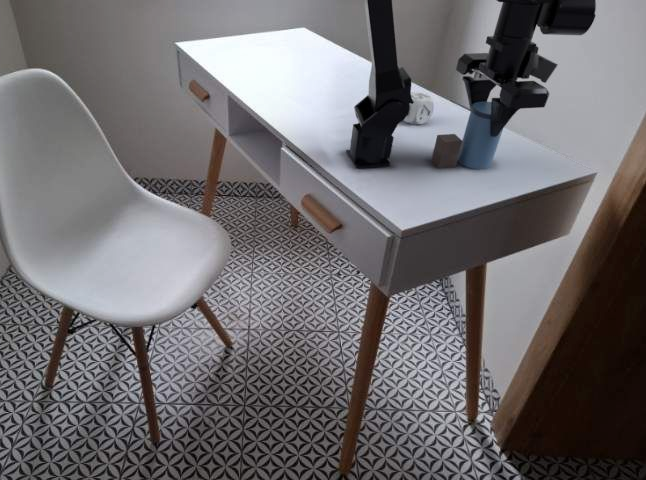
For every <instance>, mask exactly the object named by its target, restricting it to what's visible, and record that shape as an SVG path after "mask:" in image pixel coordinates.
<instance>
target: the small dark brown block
mask: <svg viewBox="0 0 646 480" xmlns="http://www.w3.org/2000/svg"><path fill="white" fill-rule="evenodd" d="M435 139H436V140H435V143H434V148H433V151H432V156H431V163H432V164H434V166H435V167H436V168H437V169H448V168H456V166H457V163H458V156H459V152H460V149H461V145H462V142H463V141H462V140H463V139H461V138H460V137H459V136H458V135H457V134H456V133H448V134H447V133H446V134H436V138H435Z"/></svg>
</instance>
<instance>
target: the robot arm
mask: <svg viewBox="0 0 646 480" xmlns="http://www.w3.org/2000/svg"><path fill="white" fill-rule="evenodd" d="M496 1H497V2H498V3H502V4H501V7H500V11H499V14H498V17H497V21H496V24H495V29H494V32H493V35H488V36H487V35H486V38H485V39H486V40H485V44H486V45H488V46H489V50H488V52H476V53H475V52H473V53H471V52H470V53H463V55H461V56H459V58H458V59H457V64H456V68H455V71H457V72H458V73H459V74H461V75H463V76H462V81H463V82H464V87H465V91H466V95H467V100H468V105H469V110H470V112H471V107H472V104H473V103H476V102H483V101H485V102H488V99H489V97H490V94H491V92H492V90H494V88H496V87H499V88H500V92H499V95H498V96H499V97H491V101H490V102H491V123H490V135H491V136H492V137H496V136H498V134H499V133H500V132H501V130H502V129H503V130H504V128H505V127H506V126H507V124H508V122H509V121H510V120H511V119H512V117H513V116H514V115H515V114H516V113H517V112H518V111H519V110H523V109H540V108H541V109H542V108H545V107H546V105H547V102H548V99H549V96H550V92H549V90H548V88H547V87H545V86H543V84H540V83H539V82H537V81H535V80H528V79H529V78H530V76H531V77H533V78H535V79H539V80H540V81H541V83H544V84H546V83H547V82H548V81H549V80H550V79H549V78H550V77H551V76H552V74H553V73H554V72H555V70H556V68H557V67H558V63H556V62H554V61H552V60H551V59H548V58H546V57H544V56H542V55H540V54H538V52H539V48H540V47H538V46H537V43H535V42H533V37H534V34H535V31H536V29H537V27H538V28H539V30H540V32H541V34H542V35H548V36H549V35H553V36H554V35H555V36H583V35H585V34H586V33H587V32H588V31H589V30H590V29H591V27H592V25H593V23H594V21H595V18H596V10H597V9H596V8H597V3H596V2H597V1H596V0H496ZM363 2H364V10H365V18H366V27H367V35H368V46H369V51H370V62H371V69H370V74H369V79H368V94H367V95H366V96H365V97H364V98H362V99H361V100H360V101H359V102H358V103H356V105H354V106H353V109H354V114H355V117H356V119H357V121H358V123H353V124H352V130H351V138H350V144H349V145H350V146H349V149H346V150H345V154H346V156H347V157H348V158H349V160H350V161H351V163H352V164H353V166H354V167H355V168H356V169H369V168H370V169H371V168H382V167H384V168H385V167H391V164H392V163H391V161H390V158H391V156H392V149H393V144H394V140H395V138H394V136H393V134H394V133H395V130H396V129H397V127H398V125H399V124H401V123H402V122H404V121H403V120H404V119H405V117H406V116H408V114H409V109H410V104H409V103H411V104H413V103H414V102H413V100H412V98H411V93H412V78H411V76H410V74H409V73H408V72H407V69H405V67H403V66H401V67H399V65H398V55H397V54H398V53H397V45H396V44H397V42H396V33H395V20H394V10H393V0H363ZM518 79H522V80H518Z"/></svg>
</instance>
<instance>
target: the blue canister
mask: <svg viewBox="0 0 646 480" xmlns="http://www.w3.org/2000/svg"><path fill="white" fill-rule="evenodd" d="M467 119H468V121H467V123H466V125H465V126H466V127H465V130H464V133H463V137H462V139H461V140H462V141H463V142H462V145H461V149H460V152H459V156H458V160H457V163H458V164H460V165H462V166H464V167H466V168H469V169H473V170H486V169H488V168H490V167H491V166H492V163H493V161H494V160H493V159H494V158H495V155H496V152H497V148H498V145H499V143H500V140H501V136H502V135H503V130H504V128H503V129H502V130H501V132H500V133H499V134H498V136H496V137H492V136H491V135H490V123H491V101H487V102H485V101H483V102H476V103H473V104H472V107H471V111H470V114H469V116H468V118H467Z"/></svg>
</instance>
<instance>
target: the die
mask: <svg viewBox="0 0 646 480" xmlns="http://www.w3.org/2000/svg"><path fill="white" fill-rule="evenodd" d="M411 98H412V100H413V102H414V103H413V104H411V103H409V104H410V109H409V114H408V116H406V117H405V119H404V120H403V121H402V122H404V123H406V124H410V125H414V126H415V125H419V126H420V125H423V124H425V123H427V122H428V121H429V120H430V119H431V117H432V115H433V113H434V109H435V105H434V104H435V103H434V100H433V98H432V97H431V95H430V94H427V93H424V92H419V91H418V92H417V91H413V92H412V91H411Z"/></svg>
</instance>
